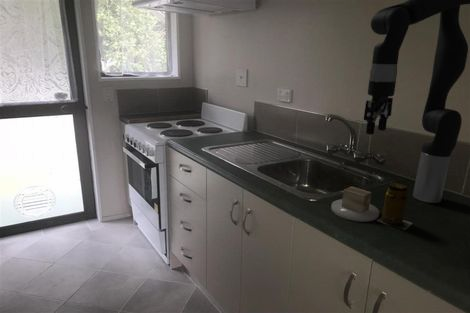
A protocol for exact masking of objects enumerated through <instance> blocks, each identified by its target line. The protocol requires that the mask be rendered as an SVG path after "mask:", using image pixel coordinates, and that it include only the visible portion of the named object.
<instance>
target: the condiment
mask: <svg viewBox="0 0 470 313" xmlns="http://www.w3.org/2000/svg"><path fill="white" fill-rule="evenodd" d="M407 194H408V187H407V186H406V185H405V184H402V183H397V182H392V183H389V184H388V188H387V191H386V193H385V197H384V203H383V208H382V213H381V217H380V218H378V219H376V222H379V223H381V224H384V225H386V226H391V227H394V228H397V229H400V230H404V231H407V229H409V227H411V226H412V225H413V222H411V221H407V220H405V219H404V218H405V217H404V216H405V212H406V207H407V206H406V205H407V199H408V195H407Z"/></svg>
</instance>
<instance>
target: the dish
mask: <svg viewBox="0 0 470 313" xmlns="http://www.w3.org/2000/svg"><path fill="white" fill-rule="evenodd" d="M342 199H343V198H342ZM342 199H337V200H334V201H332V203H331V207H330V209H331V211H332V212H333V214H335V215H336V216H338V217H340V218H343V219H345V220H349V221H353V222H361V223H363V222H364V223H368V222H374V221H377V220H378V219H379V216H380V210H379V209H378V208H377V207H376V206H375V205H374V204H372V203H370V204H369V209H368V210H367V211H365V212H364V213H362V214H361V213H358V212H355V211H353V210H350V209H347V208H344V207H342Z"/></svg>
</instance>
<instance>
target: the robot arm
mask: <svg viewBox="0 0 470 313" xmlns="http://www.w3.org/2000/svg"><path fill="white" fill-rule="evenodd" d="M464 5H470V0H406V1H404V2H402V3H399V4H395V5H392V6H388V7H385V8H382V9H380V10H379V11H377V12H375V13H374V15H373V16H372V18H371V19H370V20H371V21H370V28H371V30H372V32H373V33H375V34H377V35H380V36H381V35H382V36H383V35H384V36H385V38H384V39H383V41H382V42H380V43H378V44H376V45H375V46H374V47H373V52H372V62H371V68H370V71H369V79H368V87H367V88H368V89H367V95H368V96H371V100H366V101H365V108H364V113H363V121H366V130H365V133H366V134H367V135H369V136H371V135H374V134H375V130H376V121H377V119H378V118H379V119H378V126H377V129H378V131H382V132H383V131H386V128H387V123H388V119H389V117H392V109H393V100H394V98H393V96H395V91H396V90H395V89H396V83H397V77H398V63H399V61H398V60H399V54H400V50H401V47H402V45H403V42H404V39H405V37H406V36H407V32H408V31H409V30H408V29H409V27H410V26H411V25H416V24H418V23H420V22H421V21H424V20H427V19H428V18H431V17H433V16H436V15H438V14H439V15H440V16H439V25H438V26H439V29H438V35H437V36H438V37H437V43H436V47H435V48H436V49H435V53H434V59H433V68H432V74H431V80H430V84H429V85H430V86H429V89H428V90H429V91H428V94H427V99H426V101H425V105H424V106H425V107H424V110H423V113H422V119H421V124H422V125H421V126H422V128H423V129H424V131H426V132H428V133H430V134H434V137H433V139H432V141H431V142H425V143H423V144H422V147H421V152H420V156H419V161H418V167H417V172H416V177H415V182H414V188H413V192H412V197H413V198H414V199H416V200H418V201H420V202H425V203H428V204H430V203H432V204H439V203H441V201H442V198H443V193H444V189H445V184H446V180H447V175H448V170H449V165H450V160H451V156H452V153H453V151H454V149H455V148H456V145H457V142H458V138H459V135H460V131H461V127H462V124H463V123H462V122H463V120H462V115H461V114H460V112H459V111H457V110H454V109H449V108H446V104H447V99H448V95H449V93H450V91H451V89H452V88H453V87H454V85H455V84H456V82H457V81H458V80H459V79H460V77H461V76H462V75H463V73H464V70H465V68H466V66H467V65H466V63H467V58H468V54H469V45H468V42H467V39H466V37H465V34H464V32H463V31H462V30H463V29H462V28H461V25H460V9H461V8H460V7H461V6H464Z"/></svg>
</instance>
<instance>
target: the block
mask: <svg viewBox="0 0 470 313" xmlns="http://www.w3.org/2000/svg"><path fill="white" fill-rule="evenodd" d="M371 198H372V192H371V191H369V190H368V191H367V190H365V189H361V188H359V187H354V186H349V187H347V188H344V189H343V192H342V207H344V208H347V209H350V210H353V211H355V212H358V213H361V214H362V213H364V212H365V211H367V210H368V209H369V204H371V203H370V202H371Z"/></svg>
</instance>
